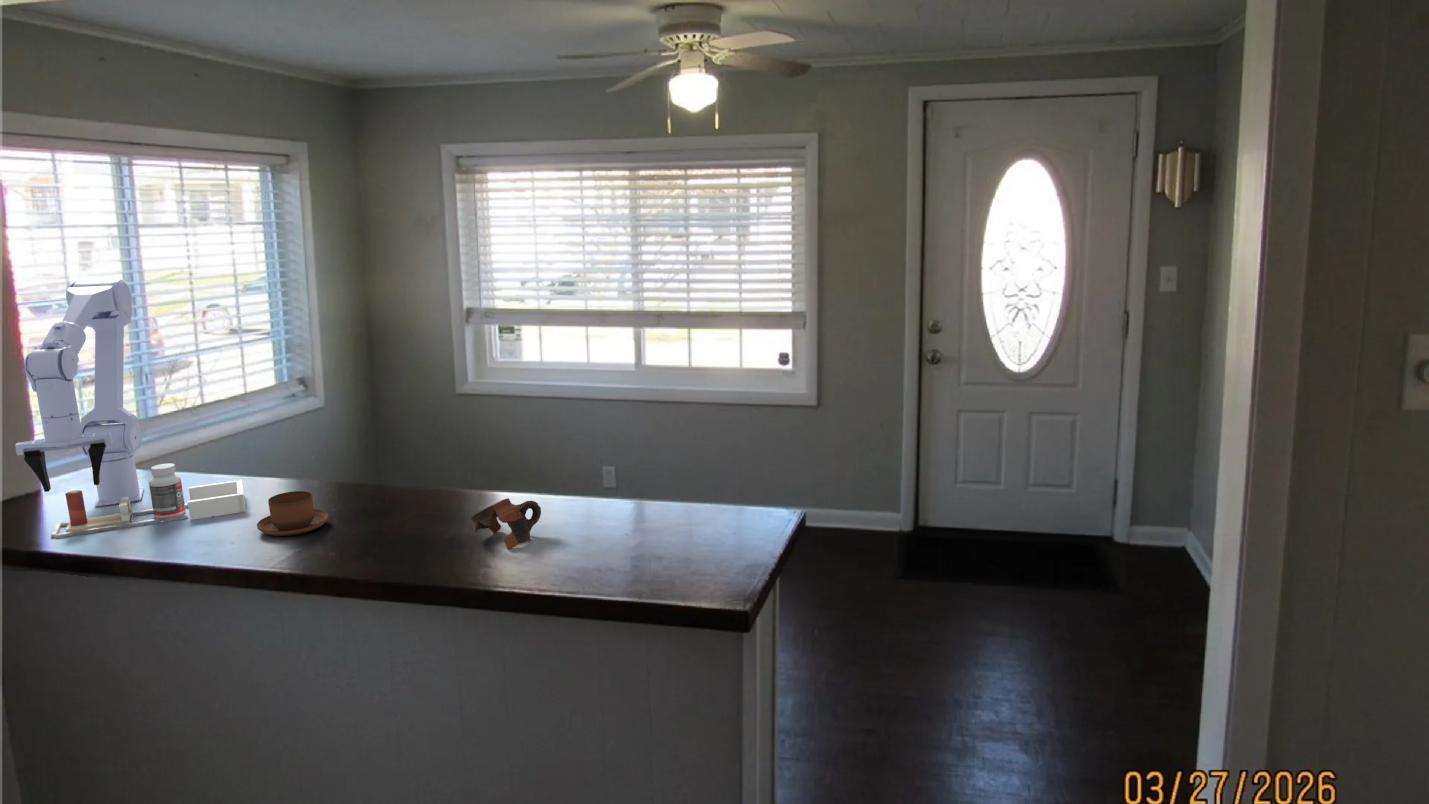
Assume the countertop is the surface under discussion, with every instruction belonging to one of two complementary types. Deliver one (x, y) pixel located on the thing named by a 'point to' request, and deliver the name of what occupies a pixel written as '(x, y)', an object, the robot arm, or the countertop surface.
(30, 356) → the robot arm
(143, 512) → the track
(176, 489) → the pill bottle
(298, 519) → the cup and saucer
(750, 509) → the countertop surface
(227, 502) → the frame
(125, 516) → the red peg in tray
